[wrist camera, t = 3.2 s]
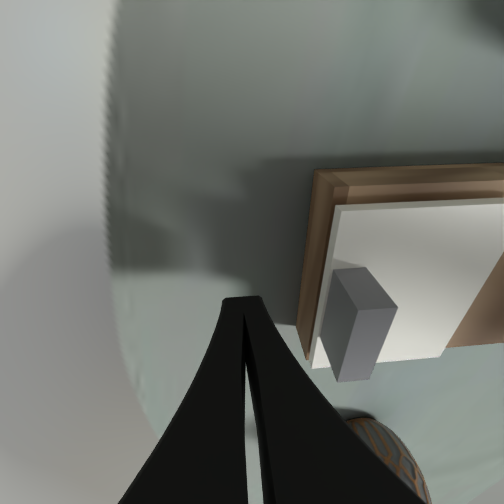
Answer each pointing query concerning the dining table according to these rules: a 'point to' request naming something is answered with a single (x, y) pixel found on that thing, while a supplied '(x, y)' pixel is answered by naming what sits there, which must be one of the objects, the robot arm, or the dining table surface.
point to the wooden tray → (401, 190)
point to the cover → (401, 280)
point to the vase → (392, 453)
